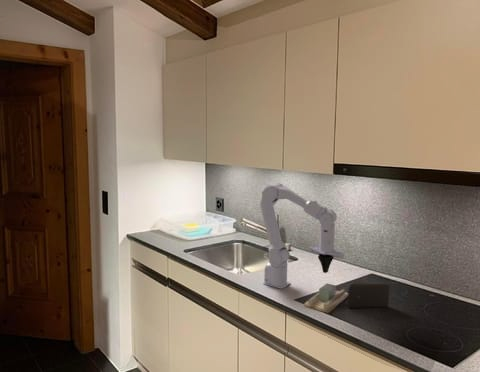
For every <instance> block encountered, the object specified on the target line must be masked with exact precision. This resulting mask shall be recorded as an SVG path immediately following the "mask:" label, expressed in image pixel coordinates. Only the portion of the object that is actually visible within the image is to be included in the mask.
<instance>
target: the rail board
mask: <svg viewBox="0 0 480 372" xmlns="http://www.w3.org/2000/svg"><path fill="white" fill-rule="evenodd" d="M346 298H348V293H347V292H346V290H345V289H344V288H343V289H341V290H337V289H336V295H335V296H334V297H332V298H331V299H330V300H329V301H328V302H326V301H322V300H319V291H318V292H317V293H316V294H314V295H313V296H312V297H310V298H308V300H306V301H305V302H304V303H303V306H304V307H305V308H309V307H310V308H309V309H312V308H313V310H317V311H320V312H323V313H327V314H329V313H330V312H332V311H333V310H334V309H335V308H336V307H337V306H338V305H339V304H340V303H342V302H343V301H344V300H345V299H346Z"/></svg>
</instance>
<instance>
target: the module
mask: <svg viewBox="0 0 480 372" xmlns="http://www.w3.org/2000/svg"><path fill="white" fill-rule="evenodd" d="M318 290H319V291H318V292H319V300H322V301H326V302H328V301H329V300H330V299H331V298H332V297H334V296H335V295H336V290H337V285H335V284H330V283H325V284H323V286H321V287H319V289H318Z"/></svg>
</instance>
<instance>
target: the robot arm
mask: <svg viewBox="0 0 480 372" xmlns="http://www.w3.org/2000/svg"><path fill="white" fill-rule="evenodd" d="M261 195H262V197H261V199H260V200H261V201H260V209H261V213H262V214H261V215H262V217H263V222H264V226H265V230H266V234H267V236H268V237H267V238H268V242H269V248H268V262H267V263H266V265H265V266H264V278H263V279H264V282H262V283H263V285H266V286H269V287H270V286H271V287H272V288H273V287H274V288H277V289H281V290H282V289H284V288H285V287H288V286H289V285H290V284H291V282H290V281H288V260H289V258H290V255H291V254H290V252H289V250H288V248H287V246H286V244H285V243H284V242H283V240H282V237H281V236H282V235H281V232H280V228H279V224H278V221H277V220H278V219H277V216H276V215H277V214H276V212H275V208H274V207H275V206H276V204H277V202H278V200H288V201H290V202H292V203H293V204H295V205H297V206H299V207H301V208H302V209H303V211H304V213H305V214H307V215H309V216H310V217H312V218H313V219H315V220H317V221H318V222H319V224H320V231H319V247H317V246H311V247H308V248H309V250H308V251H309V253H315V254H318V256H317V257H318V260H319V263H320V264H321V269H322V273H324V274H327V273H329V268H330V267H331V263H332V262H333V260H334V258H338V259H340V260H343V259H345V252H340V251H337V250H334V249H335V230H336V229H335V225H336V221H337V218H338V216H337V213H336V212H335V211H334V210H333V209H331V208H329V209H328V207H327V206H326V207H324V206H322V205H321V204H319V203H318V201H317V200H307V199H305V198H303V196H300V195H299V194H298V193H296V192H295V191H293V190H292V189H290V188H289V187H288V186H286V185H283V184H282V183H279V182H278V183H274V184H272V185H271V184H270V185H267V186H266V187H265V188H264V189H263V190H262V191H261Z"/></svg>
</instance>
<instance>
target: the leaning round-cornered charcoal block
mask: <svg viewBox="0 0 480 372" xmlns="http://www.w3.org/2000/svg"><path fill="white" fill-rule="evenodd" d="M390 291H391V287H390V284H389V283H387V282H382V281H376V280H373V281H372V280H371V281H370V280H364V281H363V280H361V281H357V282H356V281H355V282H352V283H351V284H349V286H348V296H347V307H348V308H350V309H363V308H364V309H366V308H386V307H388V306H389V304H390V293H391V292H390Z"/></svg>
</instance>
